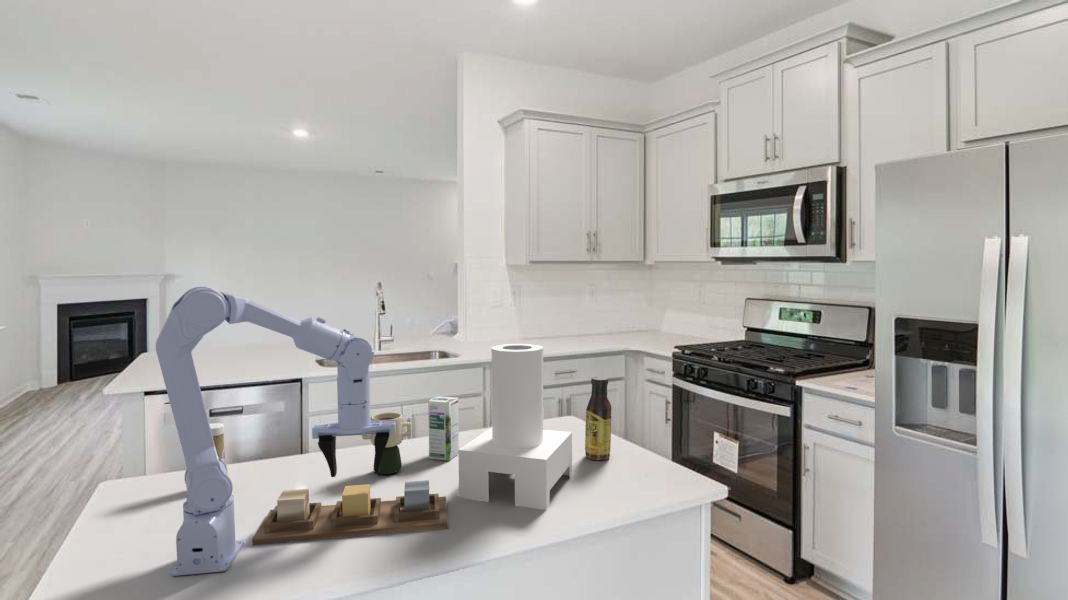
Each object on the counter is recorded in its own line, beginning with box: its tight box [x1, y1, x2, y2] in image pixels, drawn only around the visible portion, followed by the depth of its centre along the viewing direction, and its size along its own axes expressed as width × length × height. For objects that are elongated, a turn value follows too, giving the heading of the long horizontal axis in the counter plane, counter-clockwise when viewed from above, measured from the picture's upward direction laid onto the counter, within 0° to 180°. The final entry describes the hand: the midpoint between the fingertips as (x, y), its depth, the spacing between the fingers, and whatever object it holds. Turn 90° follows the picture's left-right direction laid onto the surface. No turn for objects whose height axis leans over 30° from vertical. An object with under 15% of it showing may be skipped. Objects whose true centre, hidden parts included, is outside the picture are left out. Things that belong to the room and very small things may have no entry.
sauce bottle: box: [584, 375, 612, 462], centre depth 142 cm, size 7×6×20 cm
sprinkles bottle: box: [209, 422, 226, 464], centre depth 125 cm, size 5×5×13 cm
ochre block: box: [341, 483, 371, 517], centre depth 108 cm, size 4×4×5 cm
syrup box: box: [427, 396, 460, 462], centre depth 143 cm, size 6×6×14 cm
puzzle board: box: [251, 479, 449, 546], centre depth 108 cm, size 12×33×6 cm, turn 101°
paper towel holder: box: [458, 343, 573, 511], centre depth 124 cm, size 19×19×30 cm
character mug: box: [361, 411, 412, 475], centre depth 133 cm, size 11×7×13 cm, turn 104°
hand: (355, 473), depth 108 cm, fingers open, 7 cm apart
